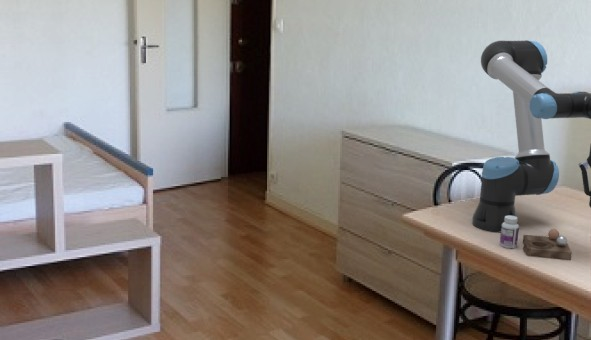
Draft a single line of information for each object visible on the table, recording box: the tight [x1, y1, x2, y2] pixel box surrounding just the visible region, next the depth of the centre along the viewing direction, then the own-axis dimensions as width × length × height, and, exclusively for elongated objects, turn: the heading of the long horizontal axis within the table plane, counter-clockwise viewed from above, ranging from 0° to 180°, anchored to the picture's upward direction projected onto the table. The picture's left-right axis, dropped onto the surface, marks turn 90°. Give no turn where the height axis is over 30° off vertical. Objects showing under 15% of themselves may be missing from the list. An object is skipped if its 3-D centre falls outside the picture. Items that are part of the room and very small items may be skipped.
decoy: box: [547, 228, 560, 240], centre depth 242 cm, size 3×3×3 cm
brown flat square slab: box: [522, 234, 573, 261], centre depth 239 cm, size 14×13×2 cm
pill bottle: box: [499, 215, 520, 249], centre depth 241 cm, size 5×5×10 cm
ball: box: [556, 235, 568, 246], centre depth 236 cm, size 3×3×3 cm
